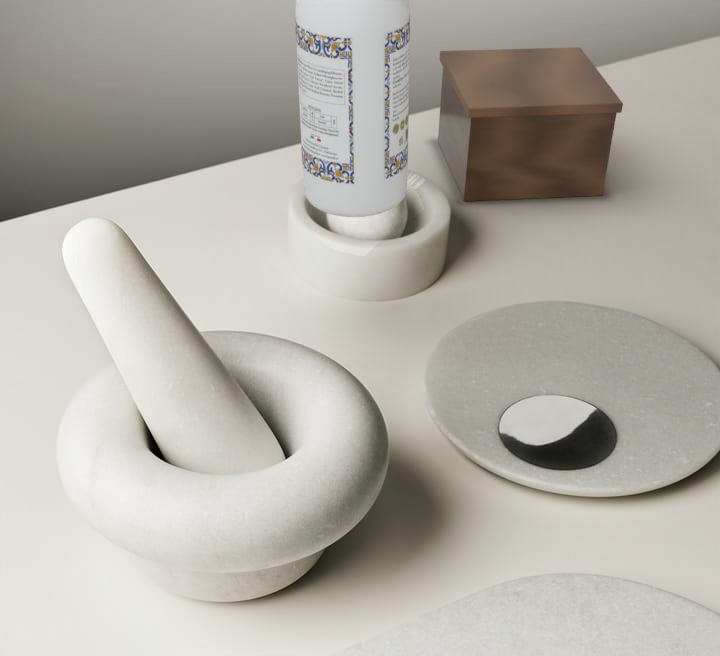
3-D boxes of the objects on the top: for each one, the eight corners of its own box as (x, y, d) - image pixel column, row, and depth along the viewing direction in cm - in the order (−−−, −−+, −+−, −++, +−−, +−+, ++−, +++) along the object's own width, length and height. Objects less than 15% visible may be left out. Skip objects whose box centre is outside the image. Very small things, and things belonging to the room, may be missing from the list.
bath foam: (390, 167, 80) (392, -161, 67) (420, 212, 75) (428, -132, 62) (293, 180, 79) (275, -152, 65) (317, 227, 74) (303, -121, 60)
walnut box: (567, 135, 106) (580, 46, 101) (606, 197, 97) (623, 103, 92) (433, 140, 105) (439, 50, 100) (460, 203, 96) (469, 108, 90)
